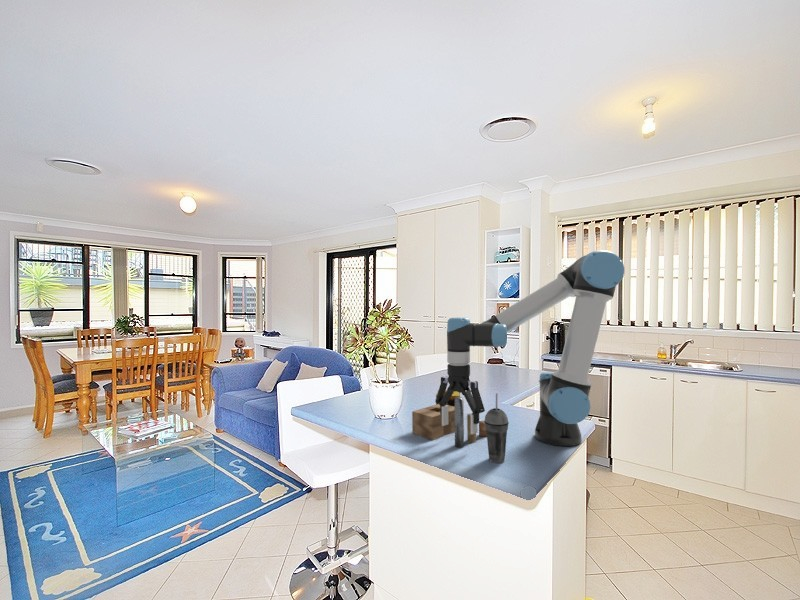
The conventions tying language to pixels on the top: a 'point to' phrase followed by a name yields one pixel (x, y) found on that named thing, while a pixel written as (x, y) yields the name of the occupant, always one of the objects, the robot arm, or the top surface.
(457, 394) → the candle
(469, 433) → the medium pin
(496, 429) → the beverage cup
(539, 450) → the top surface
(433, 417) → the hole block
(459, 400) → the long pin
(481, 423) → the short pin
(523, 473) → the top surface
